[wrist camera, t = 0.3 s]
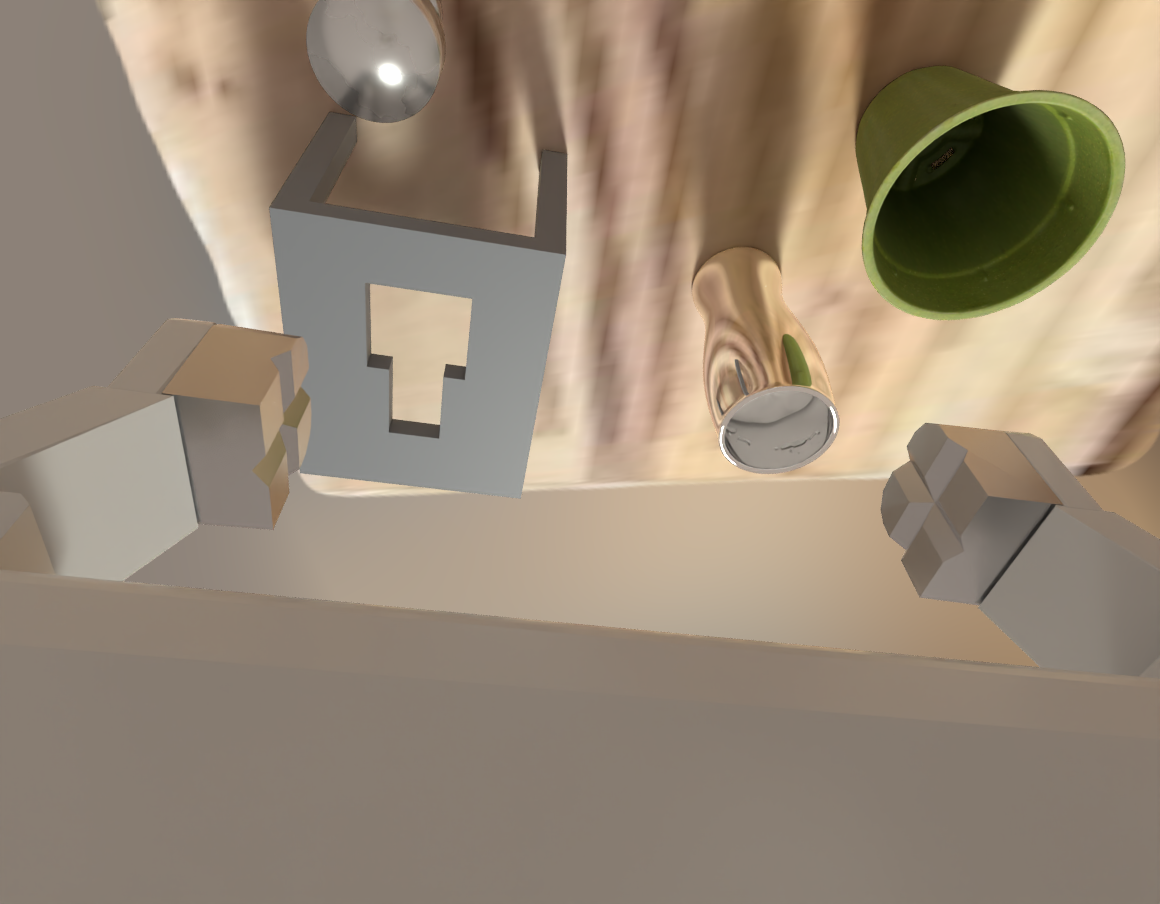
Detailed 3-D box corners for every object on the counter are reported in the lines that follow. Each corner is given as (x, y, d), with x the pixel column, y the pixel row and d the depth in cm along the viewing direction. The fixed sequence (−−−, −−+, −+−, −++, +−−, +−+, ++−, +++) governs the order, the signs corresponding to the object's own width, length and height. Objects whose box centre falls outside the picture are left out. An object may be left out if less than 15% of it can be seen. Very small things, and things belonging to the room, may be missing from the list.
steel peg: (340, -69, 37) (301, -33, 32) (461, -44, 38) (443, -5, 33) (345, 59, 41) (310, 110, 36) (454, 80, 42) (436, 133, 37)
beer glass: (763, 335, 55) (809, 485, 44) (672, 317, 53) (697, 466, 43) (804, 251, 50) (867, 396, 39) (705, 230, 49) (742, 373, 38)
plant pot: (874, -9, 39) (952, 60, 31) (1067, 50, 41) (1187, 129, 33) (779, 199, 47) (821, 296, 39) (944, 240, 49) (1017, 340, 41)
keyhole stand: (329, 111, 43) (269, 207, 35) (567, 154, 45) (565, 254, 37) (342, 357, 56) (299, 473, 47) (528, 382, 57) (520, 498, 49)
